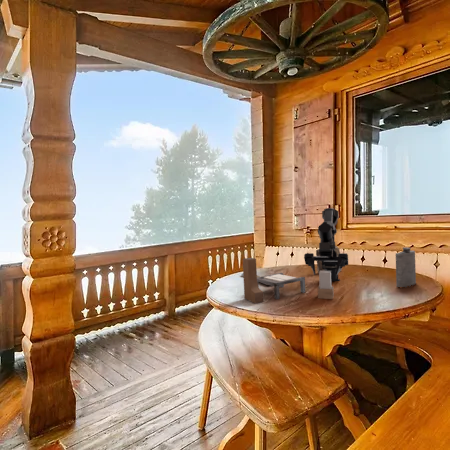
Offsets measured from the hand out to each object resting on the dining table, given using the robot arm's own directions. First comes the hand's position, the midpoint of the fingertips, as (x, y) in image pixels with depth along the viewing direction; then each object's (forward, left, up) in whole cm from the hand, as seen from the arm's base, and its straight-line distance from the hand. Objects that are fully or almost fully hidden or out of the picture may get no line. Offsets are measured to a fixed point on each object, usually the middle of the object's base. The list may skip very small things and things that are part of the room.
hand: (325, 274), depth 136 cm
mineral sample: (-25, -48, -10) cm, 55 cm away
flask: (-43, -6, -10) cm, 45 cm away
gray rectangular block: (+1, +1, -5) cm, 6 cm away
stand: (+1, +1, -9) cm, 10 cm away
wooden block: (+32, -3, -10) cm, 33 cm away
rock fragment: (+19, -42, -10) cm, 47 cm away
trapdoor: (+17, -12, -5) cm, 22 cm away
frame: (+17, -12, -9) cm, 23 cm away
